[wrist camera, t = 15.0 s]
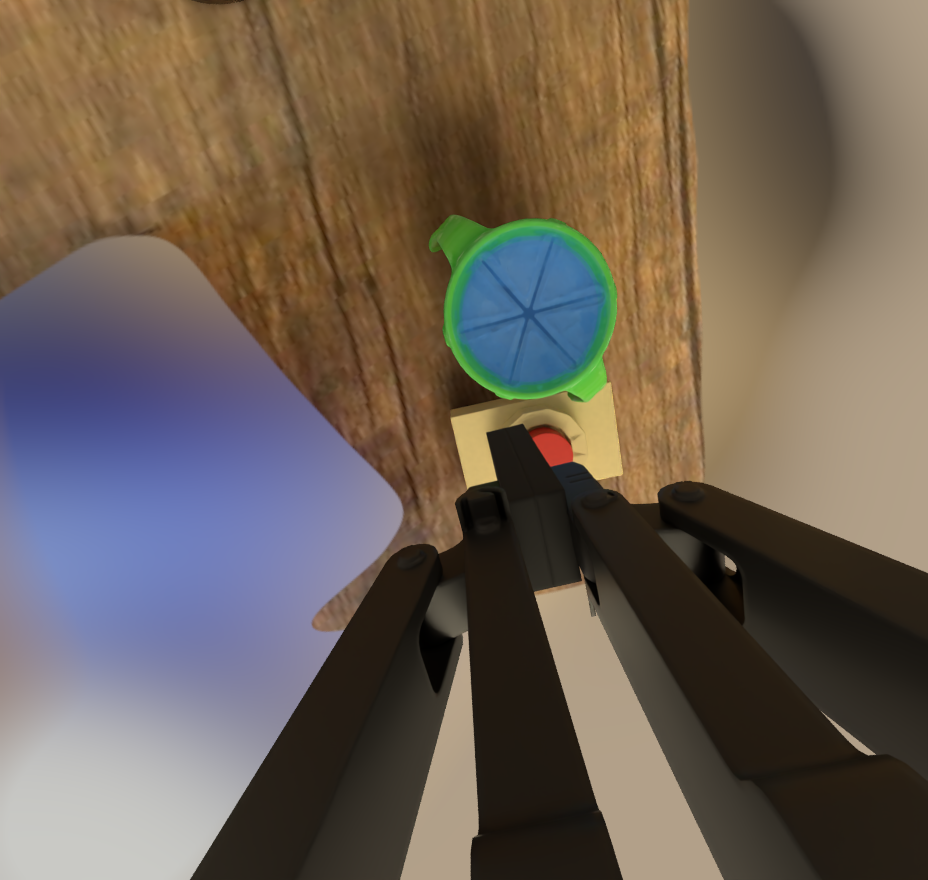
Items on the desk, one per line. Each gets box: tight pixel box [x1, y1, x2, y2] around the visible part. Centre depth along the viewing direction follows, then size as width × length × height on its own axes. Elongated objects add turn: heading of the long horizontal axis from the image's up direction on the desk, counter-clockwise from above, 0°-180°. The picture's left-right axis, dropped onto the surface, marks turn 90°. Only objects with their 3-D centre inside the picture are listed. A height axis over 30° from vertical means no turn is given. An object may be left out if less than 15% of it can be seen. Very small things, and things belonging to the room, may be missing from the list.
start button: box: [529, 427, 573, 467], centre depth 33 cm, size 4×4×2 cm
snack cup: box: [429, 215, 617, 403], centre depth 31 cm, size 16×10×10 cm
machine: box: [450, 381, 623, 490], centre depth 36 cm, size 13×8×5 cm, turn 103°
